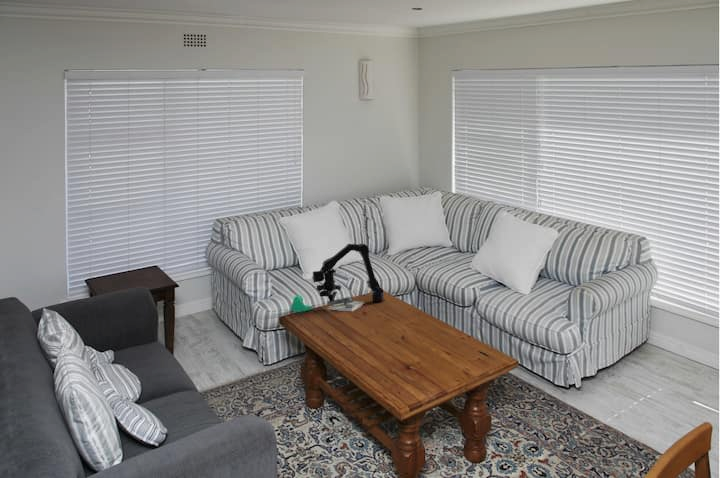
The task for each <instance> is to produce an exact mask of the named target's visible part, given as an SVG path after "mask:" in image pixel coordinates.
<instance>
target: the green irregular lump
mask: <svg viewBox="0 0 720 478" xmlns="http://www.w3.org/2000/svg"><path fill="white" fill-rule="evenodd" d="M303 301H304V300H303V296H302V295H300V294H298V295H296V296H294V298H293V300H292V304H291V307H290V310H292V311H295V312H297V313H302V312H306V311H310V310H312V309H313V307H312V305H305V304H304V302H303Z"/></svg>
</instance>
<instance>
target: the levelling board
mask: <svg viewBox="0 0 720 478" xmlns="http://www.w3.org/2000/svg"><path fill="white" fill-rule="evenodd" d="M352 301H353V300H352ZM363 304H364V305H365V301H357V300H356V301H353V303H346V305H344V303H341V304H336V305H334V306H331V305H330V306H328V307H326V310H327V309H332V310H338V312H354V311H355V310H356V309H359V308H360V307H362V306H364V305H363Z"/></svg>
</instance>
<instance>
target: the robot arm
mask: <svg viewBox="0 0 720 478" xmlns="http://www.w3.org/2000/svg"><path fill="white" fill-rule="evenodd" d="M351 251H354V252H358V253H359V254H360V256H361V258H362V261H363V264H364V268H365V271H366V274H367V280H366V284H367V287H368V288H369V289H370V290H371V291H372V295H371V297H372V298H371V299H372V301H371V303H376V304H377V303H382V302H385V299H384V289H383V288H382V287H381V286H380V283H379V281H378V280H377V278H376V276H375V273H374V271H373V270H374V269H373V266H372V263H371V260H370V251H369V247H368V245H367V244H365V243H359V244H357V243H356V244H355V243H347V245H345V246H344V247H343V248H342V249H340V250H339V251H338V252H337V253H335V255H333V256H332V257H329V258H327V259H325V260H324V261H323V262H322V266H321V268H320V270H317V271H315V270H314V271H312V281H313V283H318V282H323V281H324V282H323V284H319V285H316V290H317V291H318V292H319V297H327V298H328V301H332V300H335V298H336V295H337V293H338V291H341V290H342V286H341V285H340V284H335V283H336V280H335V278H334V273H335V274H336V273H337V271H336V270H335V269H334V267H336V265H337V263H338V262H339V261H340V260H342V259H343V258H344V257H345V256H347V254H349V253H350V252H351ZM336 290H338V291H336Z"/></svg>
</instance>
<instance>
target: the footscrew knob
mask: <svg viewBox="0 0 720 478" xmlns="http://www.w3.org/2000/svg"><path fill="white" fill-rule="evenodd" d="M326 303H327V306H328V307H330V306H331V305H336V304H341V303H344V305H346V303H353V297H349V296H347V297H344V298H339V299H338V298H337V299H334V300H332V301H330V300H328V301H327V302H326Z"/></svg>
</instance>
